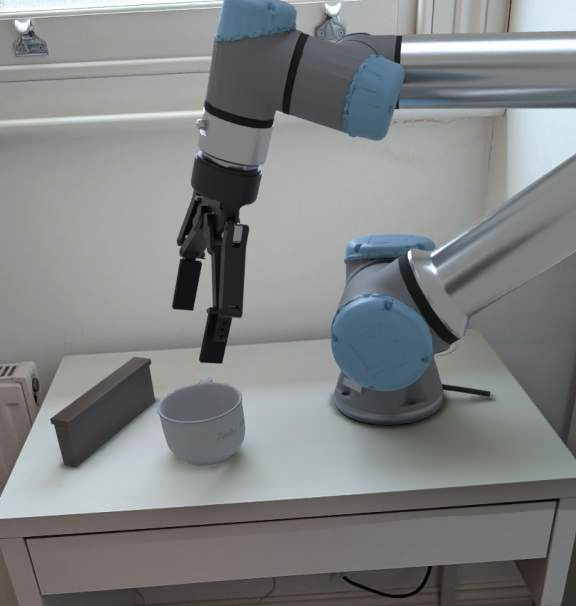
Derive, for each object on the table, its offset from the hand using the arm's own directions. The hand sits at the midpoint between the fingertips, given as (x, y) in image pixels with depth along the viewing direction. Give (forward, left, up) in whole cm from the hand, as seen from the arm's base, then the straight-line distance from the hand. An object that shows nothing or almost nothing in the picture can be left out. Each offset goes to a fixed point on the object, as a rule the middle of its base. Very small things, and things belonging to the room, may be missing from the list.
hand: (195, 334), depth 100 cm
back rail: (+15, +1, -15) cm, 21 cm away
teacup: (-1, +1, -16) cm, 16 cm away
